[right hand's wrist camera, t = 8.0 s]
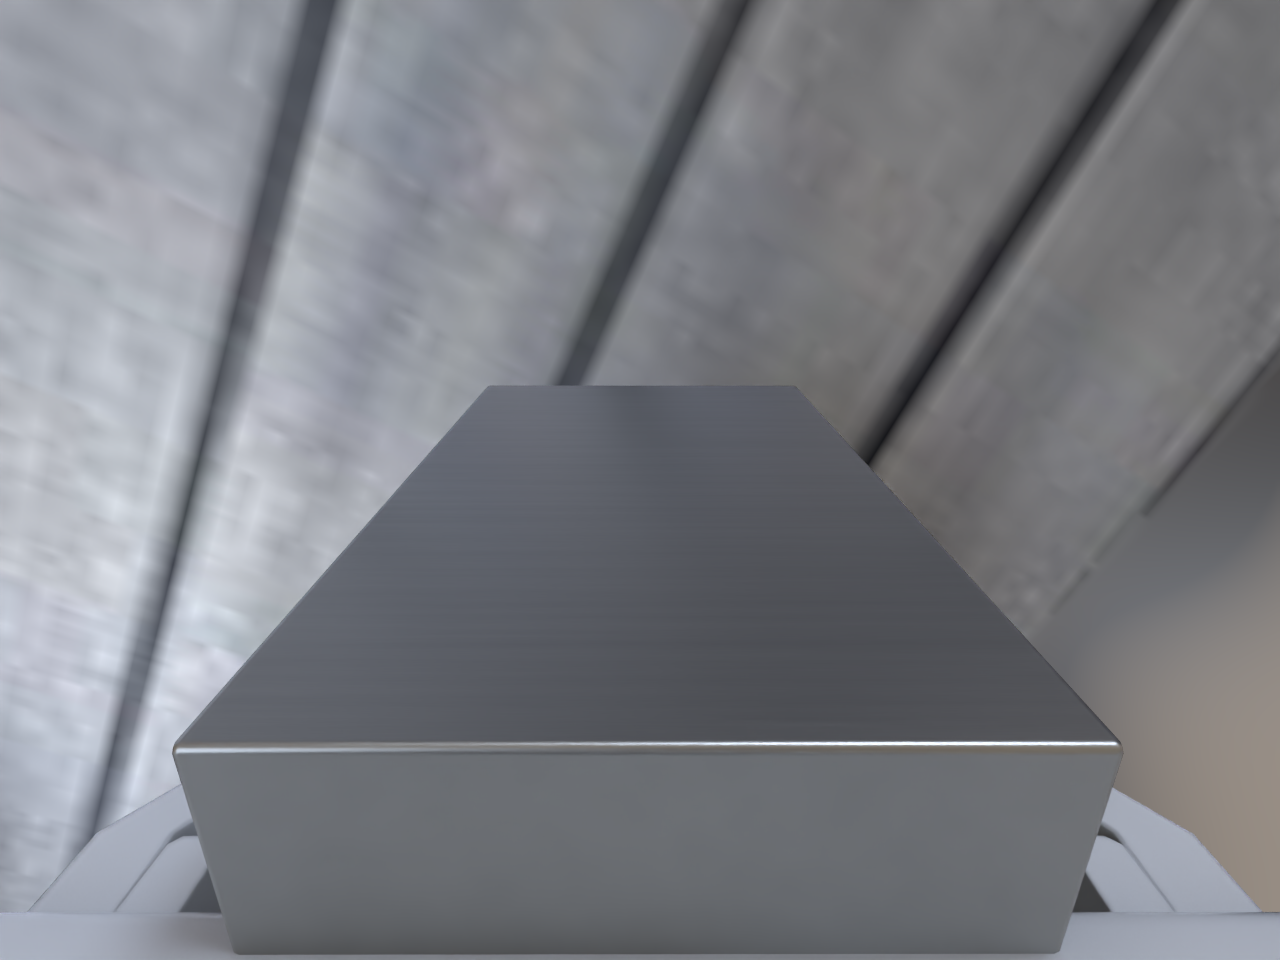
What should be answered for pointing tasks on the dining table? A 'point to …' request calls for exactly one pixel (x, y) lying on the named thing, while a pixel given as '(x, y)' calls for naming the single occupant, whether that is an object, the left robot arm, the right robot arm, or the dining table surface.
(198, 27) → the dining table surface
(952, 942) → the box
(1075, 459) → the dining table surface
